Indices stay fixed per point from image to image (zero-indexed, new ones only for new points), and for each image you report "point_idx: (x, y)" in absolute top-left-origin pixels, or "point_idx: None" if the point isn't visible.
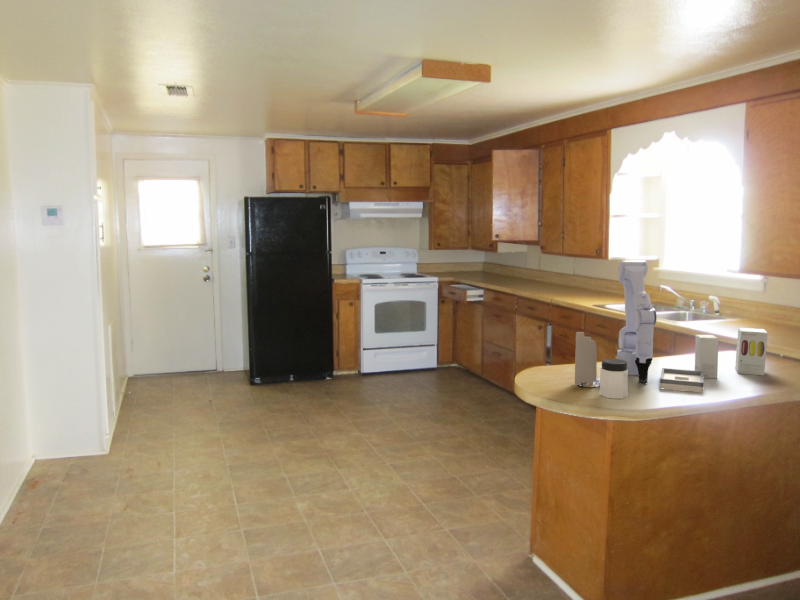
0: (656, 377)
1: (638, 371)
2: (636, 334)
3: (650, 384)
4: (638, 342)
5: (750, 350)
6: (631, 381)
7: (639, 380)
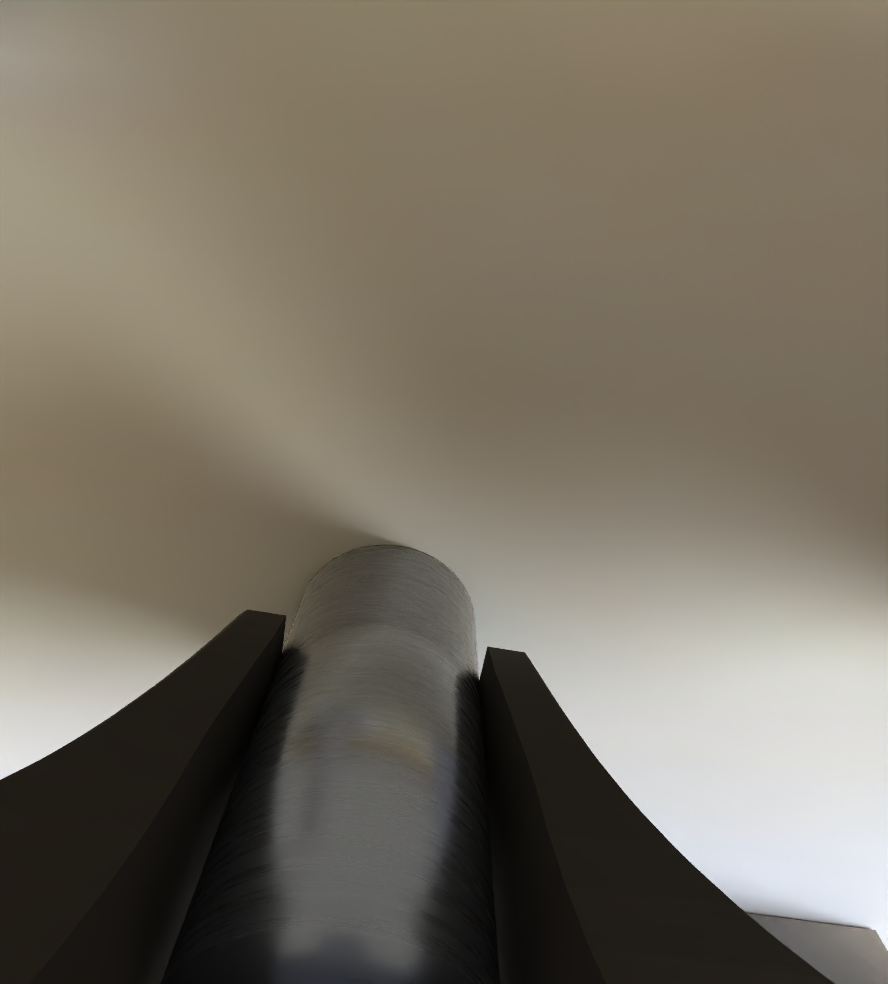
0: (844, 862)
1: (123, 712)
2: None
3: None
4: None
5: None
6: (458, 423)
7: (317, 592)
